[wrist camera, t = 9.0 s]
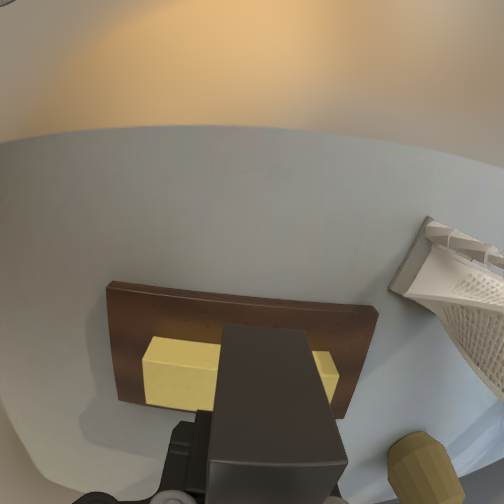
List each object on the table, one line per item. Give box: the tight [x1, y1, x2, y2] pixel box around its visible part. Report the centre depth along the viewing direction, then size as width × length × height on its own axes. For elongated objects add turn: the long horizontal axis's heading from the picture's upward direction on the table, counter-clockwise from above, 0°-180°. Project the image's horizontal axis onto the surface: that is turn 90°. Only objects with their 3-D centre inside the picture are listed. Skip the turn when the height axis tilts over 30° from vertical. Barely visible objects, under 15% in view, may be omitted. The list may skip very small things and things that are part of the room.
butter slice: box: [312, 351, 339, 403], centre depth 24 cm, size 4×3×4 cm, turn 174°
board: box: [106, 281, 379, 419], centre depth 26 cm, size 12×22×2 cm, turn 84°
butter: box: [142, 336, 221, 411], centre depth 23 cm, size 4×10×4 cm, turn 84°
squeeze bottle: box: [388, 432, 465, 504], centre depth 23 cm, size 8×8×18 cm
